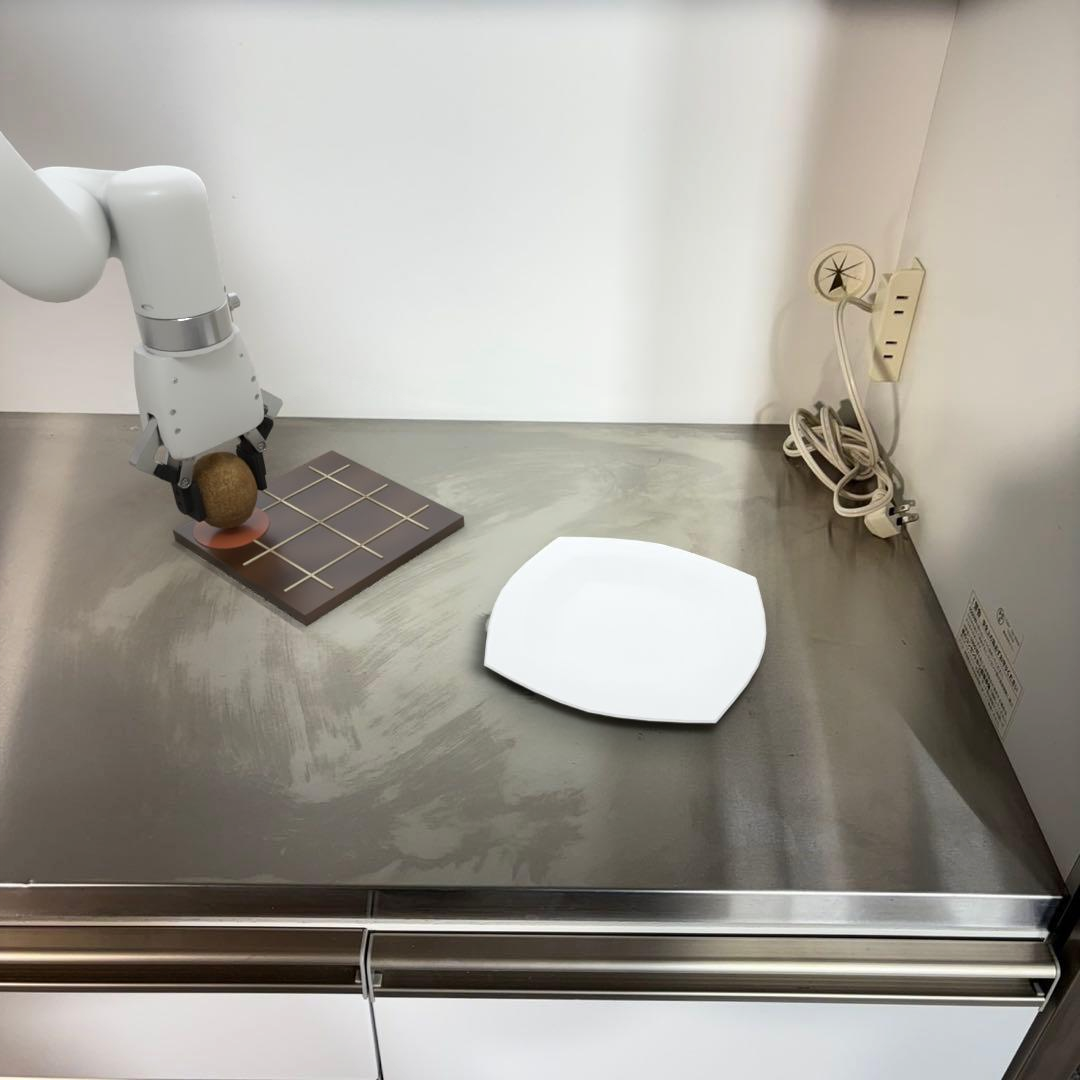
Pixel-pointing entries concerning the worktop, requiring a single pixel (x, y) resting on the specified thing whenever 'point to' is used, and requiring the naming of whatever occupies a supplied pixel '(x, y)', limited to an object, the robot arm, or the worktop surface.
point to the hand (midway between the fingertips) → (224, 498)
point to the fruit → (225, 489)
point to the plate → (628, 630)
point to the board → (323, 535)
